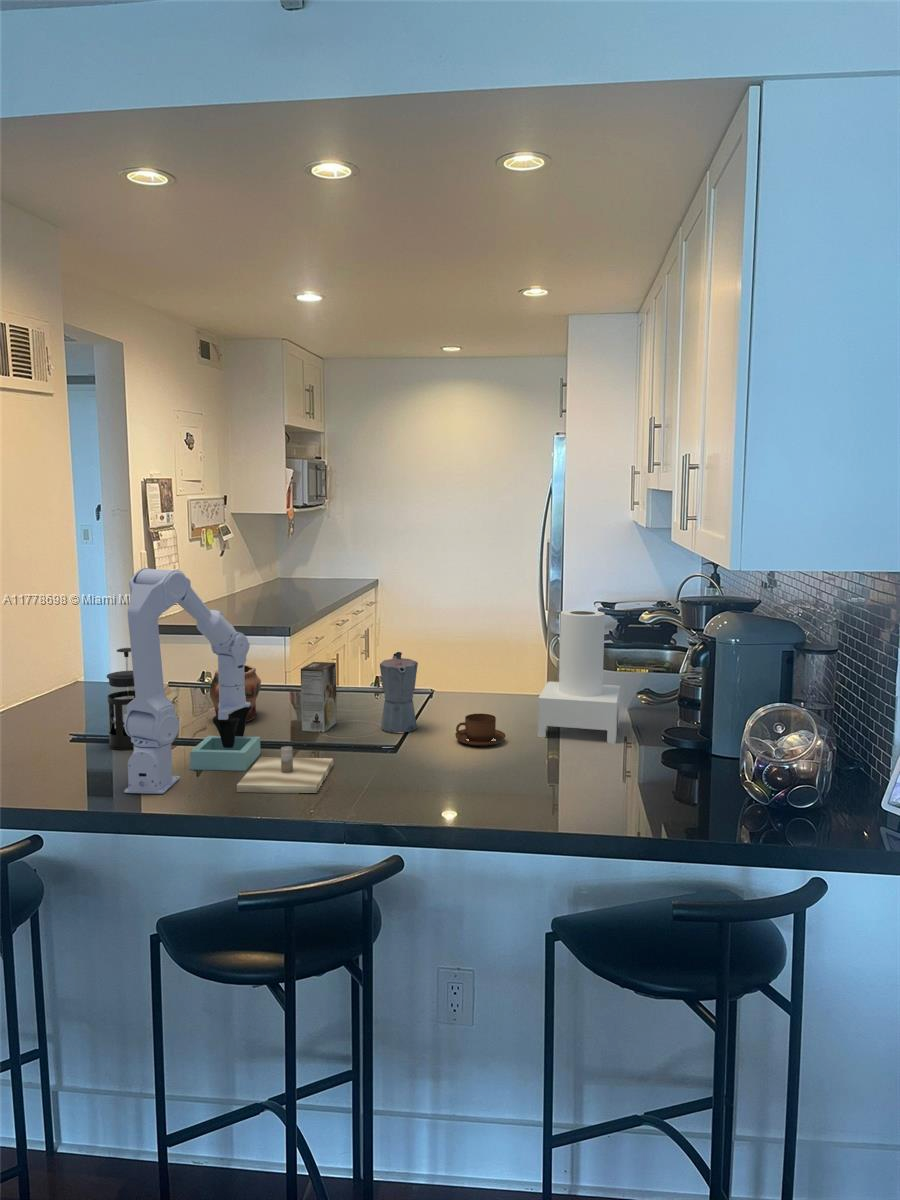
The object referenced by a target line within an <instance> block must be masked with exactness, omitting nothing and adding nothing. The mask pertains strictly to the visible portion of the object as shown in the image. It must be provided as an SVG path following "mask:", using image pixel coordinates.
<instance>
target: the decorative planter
mask: <svg viewBox="0 0 900 1200" xmlns="http://www.w3.org/2000/svg"><path fill="white" fill-rule="evenodd" d="M256 670H257V669H256V667H253V666H251V665H248V664H244V673H245V695H246V702H250V703H251V705H250V706H251V710H250V712H249V715H248V717H247V721H246V722H249V721H252V720H254V718H256V716H257V707H256V706H257V705H256V703H257V698H258V696H259V692H260V691H261V688H262V687H261V686H262V685H261V684H262V680H261V678H260V677H259V676H258V675H257V673H256V672H257V671H256ZM209 695H210V699H211V701H212V704H213V706H214V712H215V716H218V711H219V707H218V704H219V677H218V669H216V670H215V672H214V676H213V677H212V681H211V682H210V687H209Z"/></svg>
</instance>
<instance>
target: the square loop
mask: <svg viewBox="0 0 900 1200" xmlns="http://www.w3.org/2000/svg"><path fill="white" fill-rule="evenodd" d="M260 755H261V736H245V735H244V736H235V742H234V746H233V748H224V747H223V744H222V741H221V737H220V735H207V736H206V737H205V738H204V739H203V740H202V741H201V742H199V743H198V744H196V746H195V747H194V748H192V749H191V750H189V762H190V763H189V764H190V765H189V766H190V767H189V769H190V770H192V771H193V770H194V771H195V770H197V771H198V770H199V771H200V770H201V771H235V772H236V771H237V772H238V771H239V772H240V771H243V772H245V771H247V770H248V769H249V768H250V766H252V764H253V763H254V762H255V761H256V760H257V758H258V757H259V756H260Z"/></svg>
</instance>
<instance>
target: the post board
mask: <svg viewBox="0 0 900 1200" xmlns="http://www.w3.org/2000/svg"><path fill="white" fill-rule="evenodd" d="M293 755H294V752H293V746H291V745H287V746H286V745H284V746H281V747H280V757H279V756H278V757H275V756H261V757H259V759H258V760H257V761H256V762H255V763H254V764H253V765H252V767H251V768H250V769H249V770H248V771H247V772H246V773H245V775H244V776H243V777H242V778H241V780H240V781H238V783H237V784H236V792H237V793H255V794H256V793H258V794H259V793H262V794H263V793H264V794H270V793H271V794H299V793H317V794H318V792H319V790H320V789H321V787H322V785H323V784H324V782H325V780H326V778H327V777H328V775H329V773H330V771H331V769H332V768H333V766H334V758H331V757H330V758H329V757H328V758H327V757H323V758H321V757H294V756H293ZM326 776H327V777H326ZM323 781H324V782H323ZM322 783H323V784H322ZM320 786H321V787H320ZM319 788H320V789H319ZM317 791H318V792H317Z"/></svg>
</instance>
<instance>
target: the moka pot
mask: <svg viewBox="0 0 900 1200" xmlns="http://www.w3.org/2000/svg"><path fill="white" fill-rule="evenodd" d="M402 654H403V653H402V652H401V651H397V652H395V653H394V654H393V656H392V658H390V659H384V660H383V661H381V663H379V668H380V678H381V684H382V692H383V693H384V703H383V710H382V717H381V718H382V719H381V725H380V726H381V730H382V729H383V730H382V731H384V732H385V731H389V732H394V733H393V734H395V733H396V732H397V733H398V732H408V733H411V732H414V731H415V730H416V729H417V726H418V725H417V720H416V712H415V705H414V700H413V698H414V691H415V688H416V681H417V680H416V679H417V673H418V666H419V663H418V661H416V660H413V659H410V658H403V657H402Z"/></svg>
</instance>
